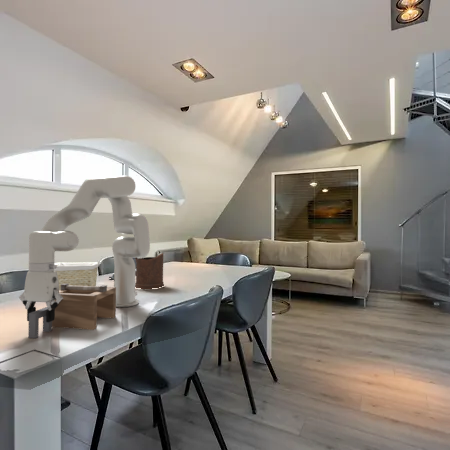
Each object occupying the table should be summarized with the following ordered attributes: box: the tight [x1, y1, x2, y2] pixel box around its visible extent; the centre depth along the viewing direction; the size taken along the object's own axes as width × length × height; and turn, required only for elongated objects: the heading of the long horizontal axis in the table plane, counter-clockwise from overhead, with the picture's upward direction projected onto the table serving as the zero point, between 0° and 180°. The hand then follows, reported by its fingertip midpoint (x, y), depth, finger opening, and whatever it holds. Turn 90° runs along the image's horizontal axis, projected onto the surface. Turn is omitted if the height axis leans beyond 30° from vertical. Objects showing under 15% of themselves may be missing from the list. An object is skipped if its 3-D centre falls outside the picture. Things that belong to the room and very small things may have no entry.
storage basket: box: [54, 261, 99, 290], centre depth 180 cm, size 24×16×15 cm
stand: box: [50, 284, 117, 331], centre depth 120 cm, size 16×18×14 cm
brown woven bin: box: [135, 252, 165, 289], centre depth 189 cm, size 18×24×25 cm
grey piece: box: [27, 306, 53, 339], centre depth 106 cm, size 8×2×8 cm, turn 172°
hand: (40, 320), depth 106 cm, fingers open, 6 cm apart
